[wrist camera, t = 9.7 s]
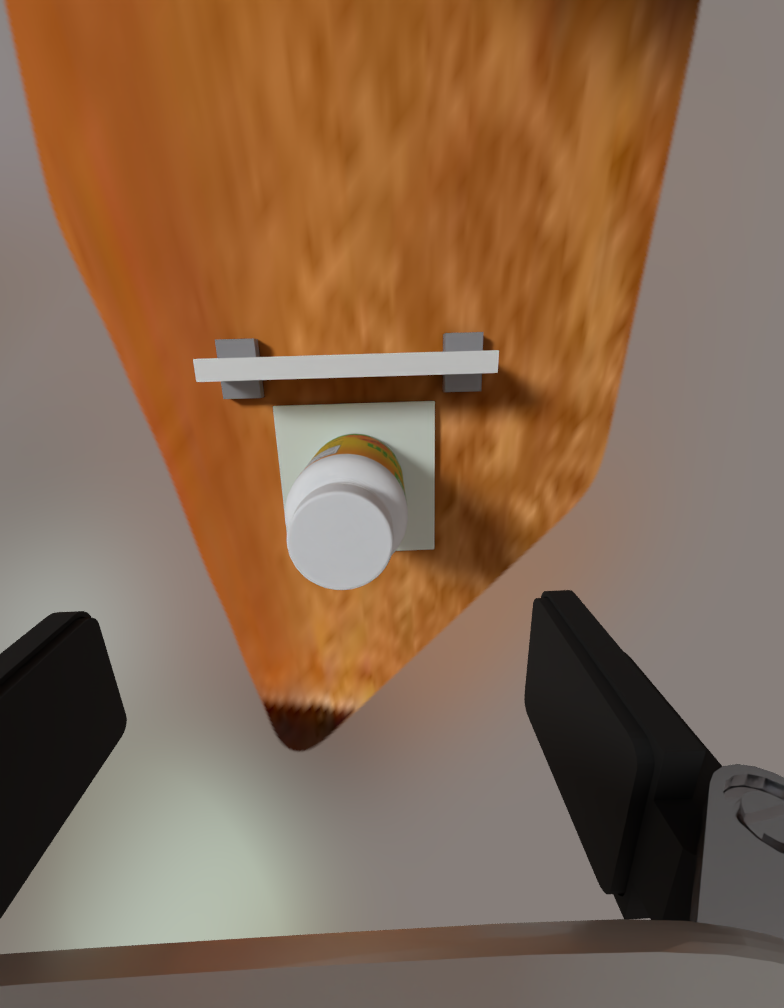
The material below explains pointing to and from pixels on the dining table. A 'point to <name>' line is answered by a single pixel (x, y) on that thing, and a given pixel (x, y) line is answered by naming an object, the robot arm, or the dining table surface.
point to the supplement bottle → (346, 512)
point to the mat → (390, 422)
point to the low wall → (346, 365)
